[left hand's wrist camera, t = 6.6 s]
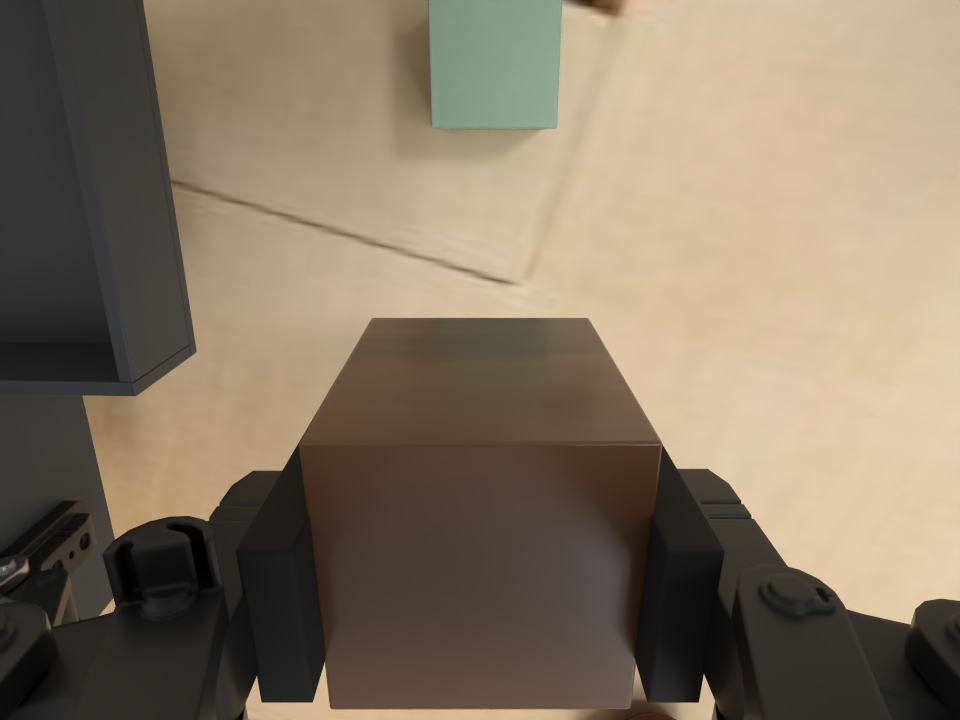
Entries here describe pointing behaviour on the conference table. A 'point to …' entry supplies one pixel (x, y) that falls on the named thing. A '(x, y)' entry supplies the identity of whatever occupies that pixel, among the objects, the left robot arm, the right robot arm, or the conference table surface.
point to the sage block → (494, 64)
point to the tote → (79, 254)
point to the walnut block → (480, 517)
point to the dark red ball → (651, 717)
